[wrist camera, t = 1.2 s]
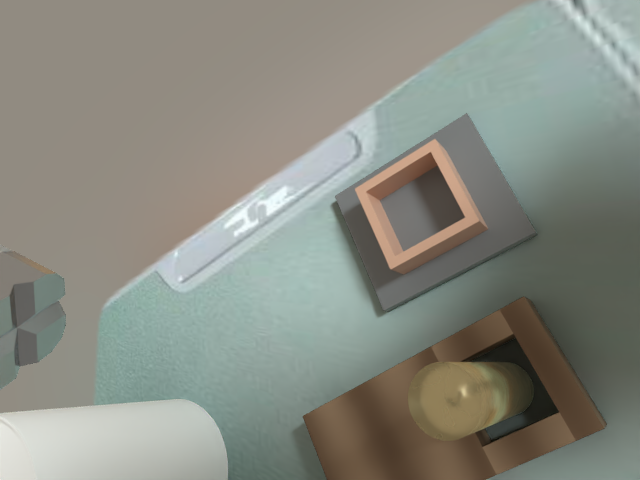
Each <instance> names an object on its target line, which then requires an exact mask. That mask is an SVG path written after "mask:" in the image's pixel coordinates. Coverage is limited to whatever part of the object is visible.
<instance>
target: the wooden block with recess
mask: <svg viewBox="0 0 640 480" xmlns="http://www.w3.org/2000/svg"><path fill="white" fill-rule="evenodd" d="M515 338H516V339H517V341H518V342H519V344H520V346H521V347H522V349H523V351H524V353H525V354H526V356H527V358H528V359H529V361H530V363H531V365H532V366H533V368H534V370H535V371H536V373H537V375H538V377H539V378H540V380H541V382H542V383H543V385H544V387H545V389H546V390H547V392H548V394H549V395H550V397H551V399H552V401H553V402H554V404H555V406H556V407H557V409H558V411H559V412H557V413H555V414H553V415H550V416H548V417H546V418H544V419H542V420H539V421H537V422H535V423H533V424H531V425H528V426H526V427H524V428H522V429H520V430H517V431H515V432H513V433H511V434H509V435H506V436H504V437H502V438H500V439H498V440H495V441H493V442H492V441H491V439H490V438H489V436H488V434H487V432H486V430H485V428H484V429H482V430H479V431H477V432H475V433H472V434H470V435H468V436H465V437H463V438H460V439H458V440H453V441H443V440H438V439H436V438H433V437H431V436H429V435H428V434H426V433H425V432H424V431H422V430H421V429H420V428H419V427H418V425H417V424H416V423H415V421H414V419H413V417H412V415H411V413H410V410H409V405H408V391H409V387H410V384H411V382H412V380H413V378H414V376H415V375H416V374H417V373H418V372H419V371H420V370H421V369H422V368H424V367H425V366H427V365H429V364H432V363H436V362H470V361H472V360H474V359H476V358H478V357H480V356H482V355H484V354H486V353H488V352H490V351H492V350H494V349H496V348H498V347H499V346H501V345H503V344H505V343H507V342H509V341H511V340H513V339H515ZM303 418H304V421H305V424H306V426H307V429H308V431H309V434H310V437H311V439H312V442H313V444H314V447H315V450H316V452H317V455H318V457H319V460H320V462H321V465H322V468H323V470H324V473H325V475H326V478H327V480H486V479H488V478H490V477H493V476H495V475H497V474H500V473H502V472H504V471H507V470H509V469H511V468H514V467H516V466H518V465H521V464H523V463H525V462H528V461H530V460H532V459H535V458H537V457H539V456H542V455H544V454H546V453H549V452H551V451H553V450H556V449H558V448H560V447H563V446H565V445H567V444H570V443H572V442H574V441H577V440H579V439H581V438H583V437H586V436H588V435H590V434H593V433H595V432H597V431H600V430H602V429H604V428H605V427H606V425H607V424H606V422H605V420H604V419H603V417H602V416H601V414H600V412H599V411H598V409H597V407H596V406H595V404H594V403H593V401H592V399H591V398H590V396H589V394H588V393H587V391H586V390H585V388H584V386H583V385H582V383H581V381H580V380H579V378H578V377H577V375H576V373H575V372H574V370H573V368H572V367H571V365H570V363H569V362H568V360H567V359H566V357H565V355H564V354H563V352H562V350H561V349H560V347H559V346H558V344H557V342H556V341H555V339H554V337H553V336H552V334H551V333H550V331H549V329H548V328H547V326H546V324H545V323H544V321H543V320H542V318H541V316H540V315H539V313H538V311H537V310H536V308H535V306H534V305H533V303H532V302H531V300H529V299H528V298H526V297H524V296H523V297H522V298H520V299H518V300H516V301H514V302H512V303H510V304H509V305H507V306H505V307H503V308H501V309H499V310H498V311H496V312H494V313H492V314H490V315H488V316H486V317H485V318H483V319H481V320H479V321H477V322H475V323H474V324H472V325H470V326H468V327H466V328H464V329H463V330H461V331H459V332H457V333H455V334H453V335H451V336H450V337H448V338H446V339H444V340H442V341H440V342H439V343H437V344H435V345H433V346H431V347H429V348H427V349H426V350H424V351H422V352H420V353H418V354H416V355H415V356H413V357H411V358H409V359H407V360H405V361H403V362H402V363H400V364H398V365H396V366H394V367H392V368H391V369H389V370H387V371H385V372H383V373H381V374H379V375H378V376H376V377H374V378H372V379H370V380H368V381H367V382H365V383H363V384H361V385H359V386H357V387H355V388H354V389H352V390H350V391H348V392H346V393H344V394H343V395H341V396H339V397H337V398H335V399H333V400H332V401H330V402H328V403H326V404H324V405H322V406H320V407H319V408H317V409H315V410H313V411H311V412H309V413H308V414H306V415H304V416H303Z"/></svg>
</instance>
